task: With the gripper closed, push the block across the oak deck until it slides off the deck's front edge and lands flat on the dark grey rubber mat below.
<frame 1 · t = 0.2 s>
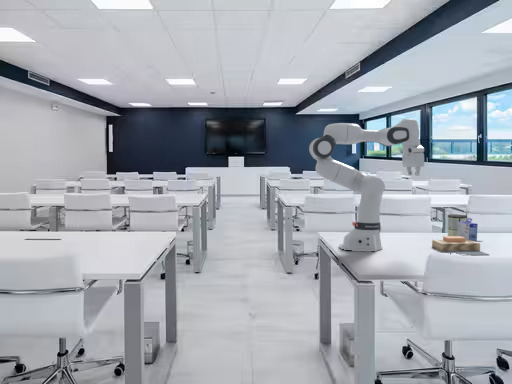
hand: (413, 175, 222), 39 cm above the table, tool pointing down, fingers open, 8 cm apart
deck: (455, 248, 221), on the table
block: (454, 240, 222), point 4 cm above the table, touching deck
mat: (465, 253, 210), on the table
ink cartridge box: (466, 244, 234), on the table
coffee can: (456, 239, 251), on the table
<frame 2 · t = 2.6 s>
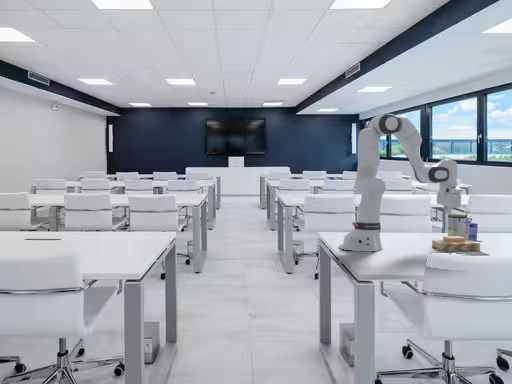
hand: (447, 214, 229), 17 cm above the table, tool pointing down, fingers closed
nothing on the table moved.
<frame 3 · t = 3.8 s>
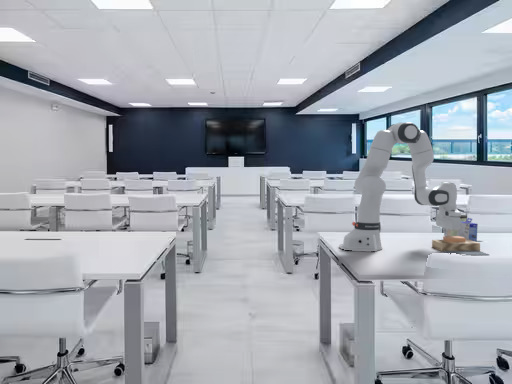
hand: (446, 236, 230), 5 cm above the table, tool pointing down, fingers closed
nothing on the table moved.
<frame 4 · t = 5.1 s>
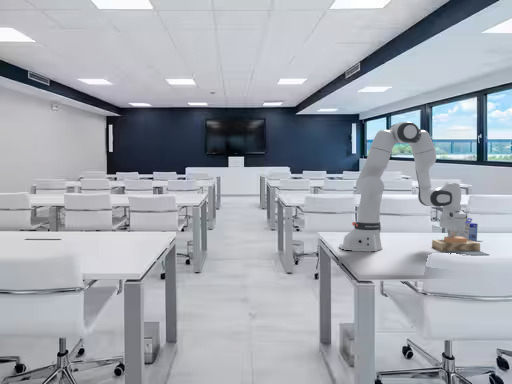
hand: (451, 238, 225), 5 cm above the table, tool pointing down, fingers closed
block: (455, 241, 221), point 4 cm above the table, touching deck, gripper
everything else where it was.
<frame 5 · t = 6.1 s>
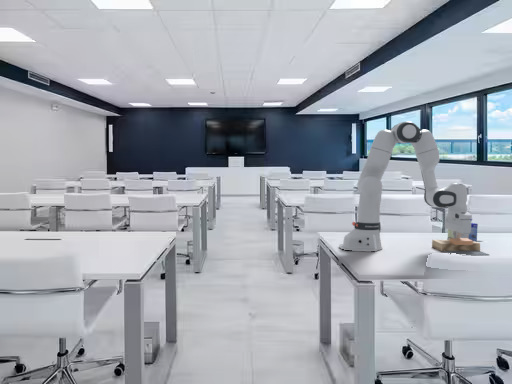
hand: (456, 240, 220), 5 cm above the table, tool pointing down, fingers closed
block: (460, 243, 215), point 4 cm above the table, touching gripper
everything else where it was.
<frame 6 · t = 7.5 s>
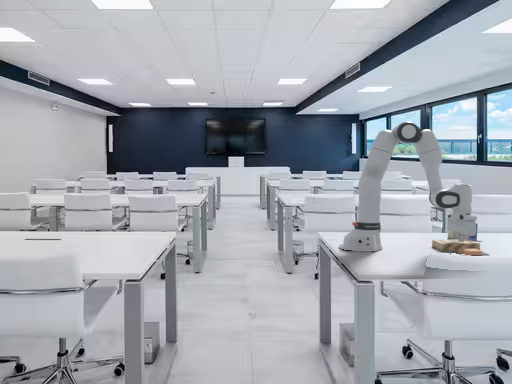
hand: (461, 241, 215), 5 cm above the table, tool pointing down, fingers closed
block: (469, 250, 207), point 2 cm above the table, tilted 180°, touching mat
everything else where it was.
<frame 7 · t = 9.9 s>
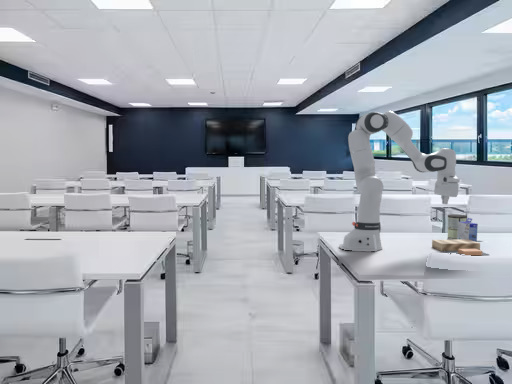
hand: (444, 204, 225), 23 cm above the table, tool pointing down, fingers closed
nothing on the table moved.
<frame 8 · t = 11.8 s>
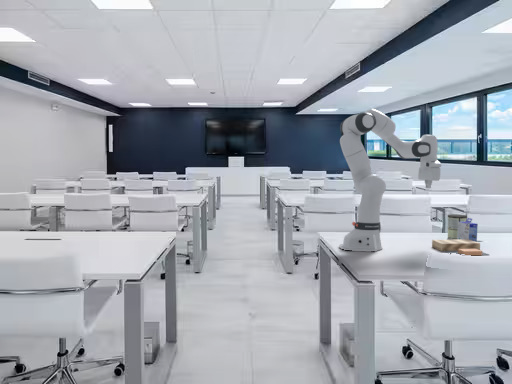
hand: (428, 188, 237), 31 cm above the table, tool pointing down, fingers closed
nothing on the table moved.
at the end: block point 2.3 cm above the table; block inside the target area on the mat (3.3 cm from its centre), point 2.3 cm above the mat's base; block touching mat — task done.
